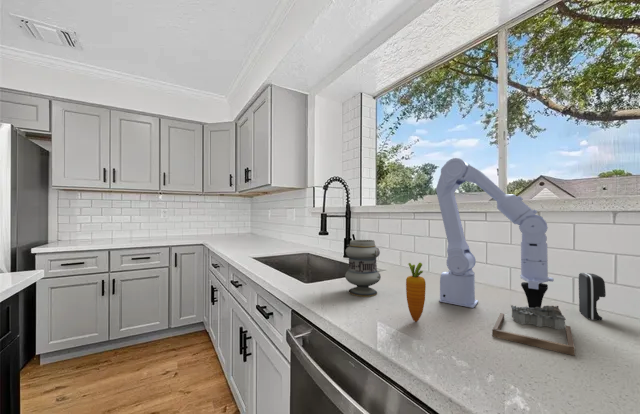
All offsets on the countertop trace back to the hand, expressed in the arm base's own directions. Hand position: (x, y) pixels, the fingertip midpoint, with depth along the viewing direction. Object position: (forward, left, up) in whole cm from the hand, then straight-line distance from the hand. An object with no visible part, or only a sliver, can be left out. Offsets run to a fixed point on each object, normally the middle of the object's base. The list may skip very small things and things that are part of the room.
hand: (534, 310), depth 76 cm
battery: (+12, +9, -2) cm, 15 cm away
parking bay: (0, -15, -1) cm, 15 cm away
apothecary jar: (-47, -10, -2) cm, 48 cm away
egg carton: (+1, -5, -2) cm, 5 cm away
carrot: (-23, -25, -2) cm, 34 cm away
